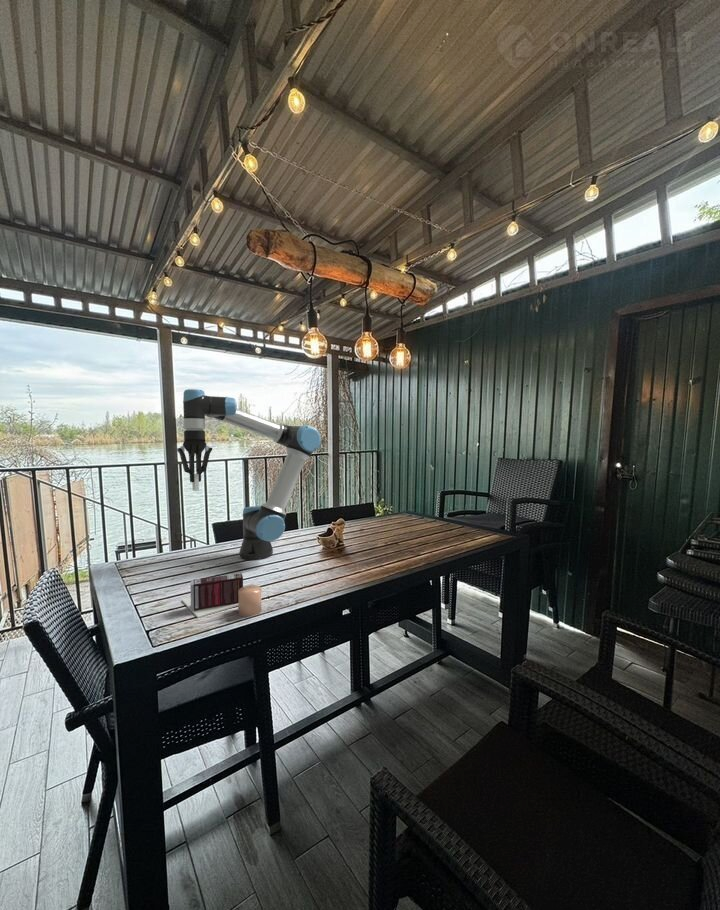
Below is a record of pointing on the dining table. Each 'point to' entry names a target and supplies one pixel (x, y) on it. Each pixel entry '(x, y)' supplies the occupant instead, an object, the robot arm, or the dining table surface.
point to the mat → (209, 610)
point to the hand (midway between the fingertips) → (195, 490)
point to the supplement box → (215, 591)
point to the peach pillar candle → (249, 600)
